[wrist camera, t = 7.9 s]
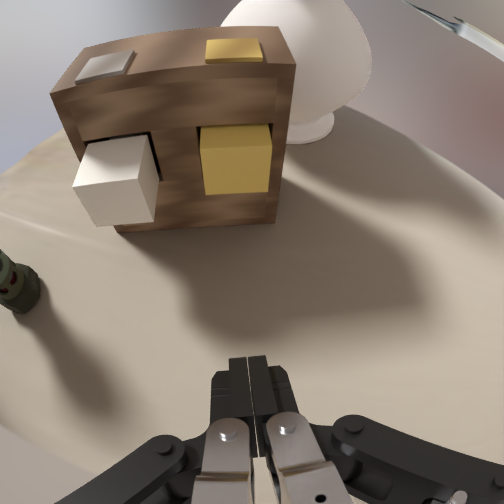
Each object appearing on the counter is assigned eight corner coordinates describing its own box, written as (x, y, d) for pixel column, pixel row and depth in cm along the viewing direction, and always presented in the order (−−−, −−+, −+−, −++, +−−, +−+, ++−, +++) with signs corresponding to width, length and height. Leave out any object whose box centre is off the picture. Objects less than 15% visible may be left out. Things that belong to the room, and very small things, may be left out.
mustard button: (205, 195, 22) (199, 149, 18) (206, 140, 25) (202, 97, 21) (267, 191, 22) (272, 145, 19) (259, 138, 25) (262, 95, 22)
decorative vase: (365, 107, 40) (405, -49, 18) (329, 182, 32) (389, -58, 10) (256, 71, 44) (262, -75, 22) (188, 130, 36) (168, -72, 14)
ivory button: (96, 226, 21) (72, 186, 17) (111, 166, 24) (95, 126, 20) (153, 221, 21) (137, 178, 17) (161, 160, 24) (151, 117, 20)
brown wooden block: (117, 232, 28) (48, 89, 14) (127, 178, 32) (83, 45, 18) (274, 223, 29) (296, 59, 15) (266, 169, 33) (278, 23, 19)
